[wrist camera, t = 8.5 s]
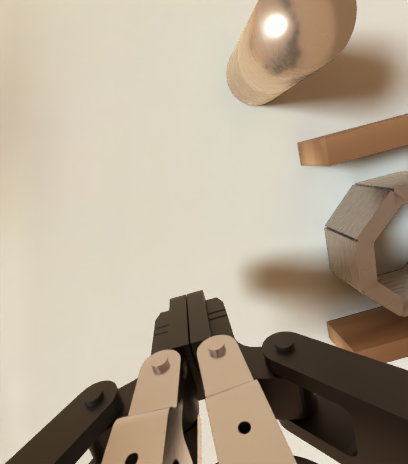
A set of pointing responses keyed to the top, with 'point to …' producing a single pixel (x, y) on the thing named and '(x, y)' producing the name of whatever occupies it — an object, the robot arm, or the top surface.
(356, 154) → the groove block
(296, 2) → the beige rounded cylinder
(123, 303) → the top surface
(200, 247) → the top surface
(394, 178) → the metal ring
